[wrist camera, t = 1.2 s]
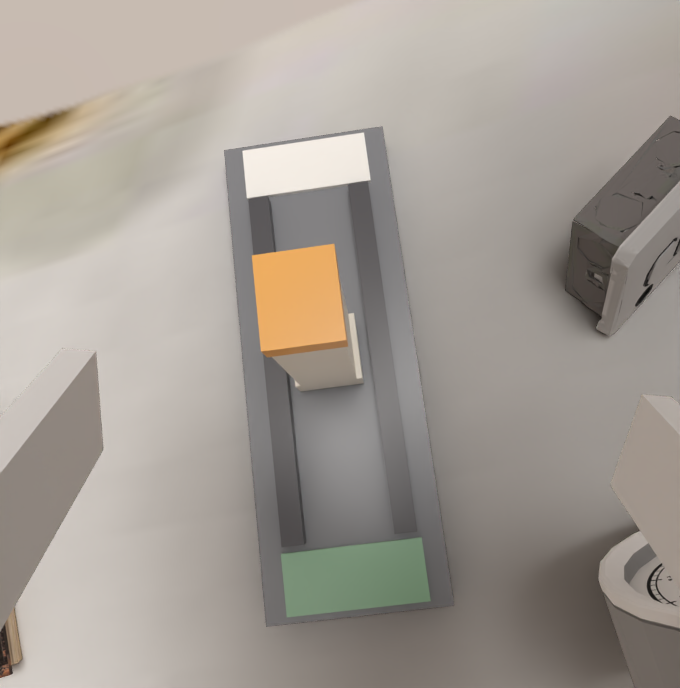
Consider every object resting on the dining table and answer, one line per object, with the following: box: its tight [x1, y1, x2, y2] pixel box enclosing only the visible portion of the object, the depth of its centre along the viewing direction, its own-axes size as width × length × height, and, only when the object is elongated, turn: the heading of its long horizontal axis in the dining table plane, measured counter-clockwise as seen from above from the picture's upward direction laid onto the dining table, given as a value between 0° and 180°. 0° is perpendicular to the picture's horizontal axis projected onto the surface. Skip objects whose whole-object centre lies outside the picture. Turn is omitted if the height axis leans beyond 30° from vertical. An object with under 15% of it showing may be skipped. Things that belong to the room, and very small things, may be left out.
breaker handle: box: [252, 244, 364, 392], centre depth 29 cm, size 4×4×12 cm
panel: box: [224, 127, 454, 627], centre depth 36 cm, size 10×28×3 cm, turn 7°
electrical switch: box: [565, 116, 680, 336], centre depth 33 cm, size 9×5×9 cm, turn 136°
